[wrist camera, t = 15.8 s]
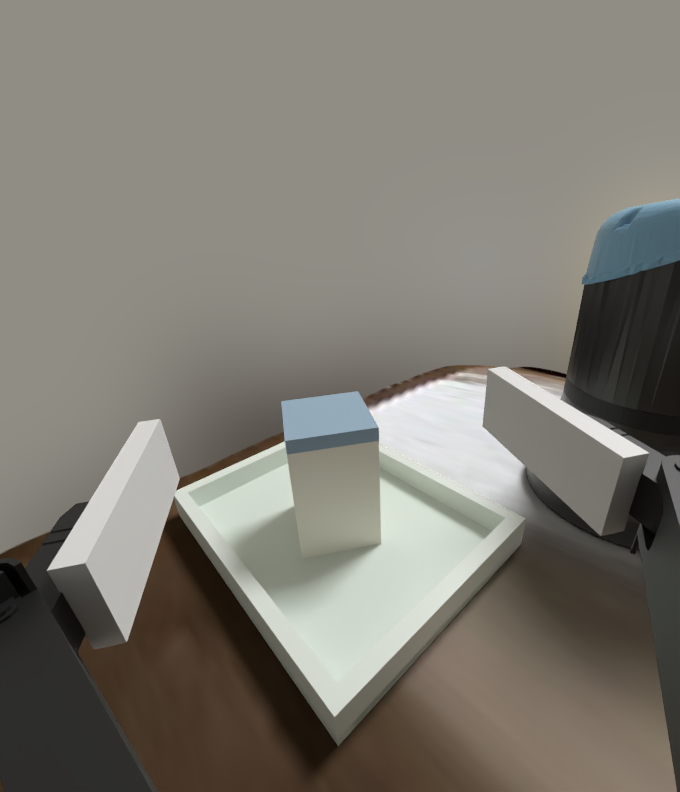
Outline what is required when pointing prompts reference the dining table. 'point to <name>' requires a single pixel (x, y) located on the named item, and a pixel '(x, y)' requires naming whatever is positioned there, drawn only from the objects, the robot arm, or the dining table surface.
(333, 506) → the white boxy piece
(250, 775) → the dining table surface
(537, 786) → the dining table surface
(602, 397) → the robot arm
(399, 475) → the tray
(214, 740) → the dining table surface
